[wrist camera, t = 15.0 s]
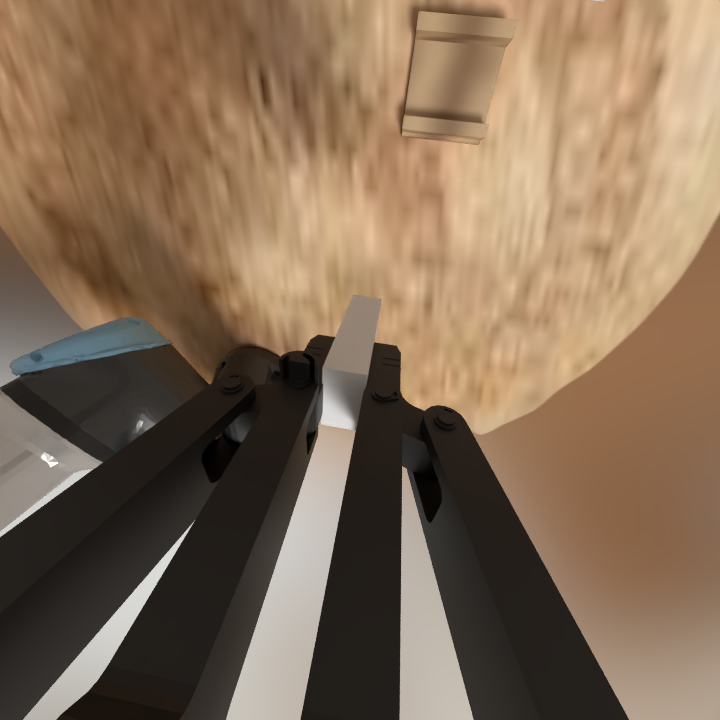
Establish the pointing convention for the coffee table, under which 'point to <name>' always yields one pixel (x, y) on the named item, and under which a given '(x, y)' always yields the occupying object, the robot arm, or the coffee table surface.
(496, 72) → the wooden rail base
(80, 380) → the robot arm
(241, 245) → the coffee table surface
